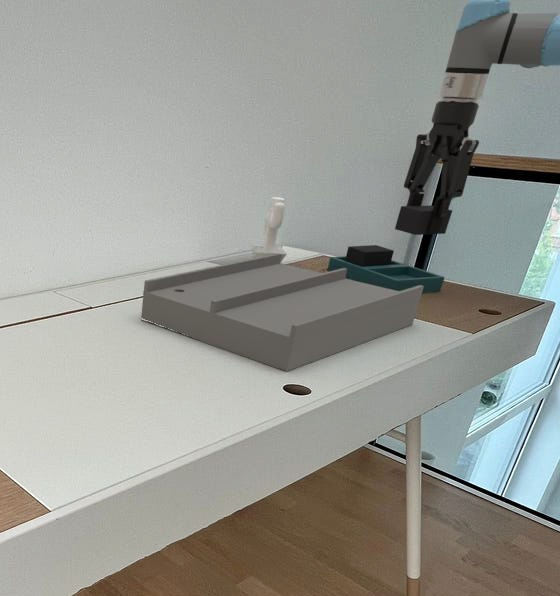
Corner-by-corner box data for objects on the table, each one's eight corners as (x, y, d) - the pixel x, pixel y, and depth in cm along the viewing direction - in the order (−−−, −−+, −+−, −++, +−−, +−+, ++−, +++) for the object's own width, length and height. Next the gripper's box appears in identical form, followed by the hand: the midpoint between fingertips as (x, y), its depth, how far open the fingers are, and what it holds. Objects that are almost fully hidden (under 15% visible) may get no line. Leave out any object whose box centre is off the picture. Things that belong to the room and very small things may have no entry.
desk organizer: (412, 324, 125) (424, 286, 121) (287, 371, 103) (296, 326, 99) (272, 287, 144) (278, 253, 141) (140, 320, 122) (144, 280, 118)
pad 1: (388, 271, 155) (394, 250, 153) (360, 272, 153) (365, 252, 150) (370, 264, 160) (375, 245, 157) (343, 266, 157) (348, 246, 155)
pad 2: (445, 233, 140) (452, 210, 138) (415, 234, 138) (422, 211, 135) (423, 228, 145) (430, 205, 142) (394, 229, 143) (401, 206, 140)
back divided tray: (440, 291, 146) (444, 277, 144) (392, 295, 142) (397, 280, 140) (371, 267, 163) (374, 254, 161) (327, 270, 159) (330, 256, 158)
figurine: (277, 262, 165) (289, 194, 156) (284, 271, 157) (298, 201, 148) (247, 260, 165) (258, 193, 157) (253, 270, 157) (265, 199, 149)
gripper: (407, 97, 135) (374, 222, 147) (484, 102, 120) (440, 240, 133) (436, 98, 137) (401, 221, 150) (514, 103, 122) (469, 238, 135)
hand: (420, 229), depth 141 cm, fingers closed on pad 2, 6 cm apart
